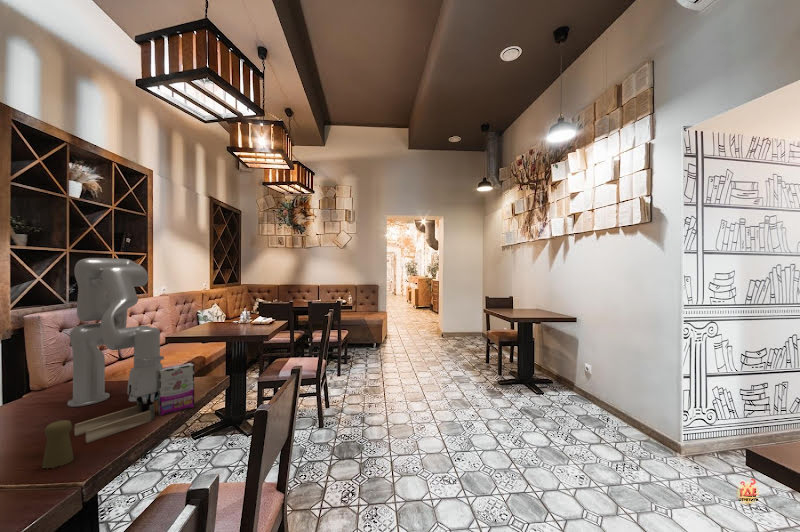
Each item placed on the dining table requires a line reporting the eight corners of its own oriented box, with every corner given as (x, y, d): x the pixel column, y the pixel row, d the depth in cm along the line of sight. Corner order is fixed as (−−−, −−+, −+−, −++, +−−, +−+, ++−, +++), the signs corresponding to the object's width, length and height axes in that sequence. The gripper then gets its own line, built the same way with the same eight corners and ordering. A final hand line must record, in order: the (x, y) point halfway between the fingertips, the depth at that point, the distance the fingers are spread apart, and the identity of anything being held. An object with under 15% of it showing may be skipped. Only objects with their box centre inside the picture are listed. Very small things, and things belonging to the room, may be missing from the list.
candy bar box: (191, 403, 130) (191, 362, 130) (194, 407, 126) (195, 364, 126) (156, 412, 122) (157, 368, 122) (159, 416, 118) (159, 370, 119)
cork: (56, 457, 92) (57, 418, 93) (79, 455, 93) (80, 416, 93) (34, 470, 86) (35, 428, 87) (59, 468, 87) (59, 426, 87)
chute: (74, 435, 105) (74, 419, 105) (140, 413, 121) (140, 399, 121) (87, 443, 100) (87, 426, 100) (154, 419, 116) (154, 404, 116)
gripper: (164, 356, 127) (165, 404, 126) (116, 366, 114) (116, 419, 113) (175, 358, 123) (175, 407, 123) (126, 369, 110) (126, 424, 110)
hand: (147, 413), depth 118 cm, fingers closed
